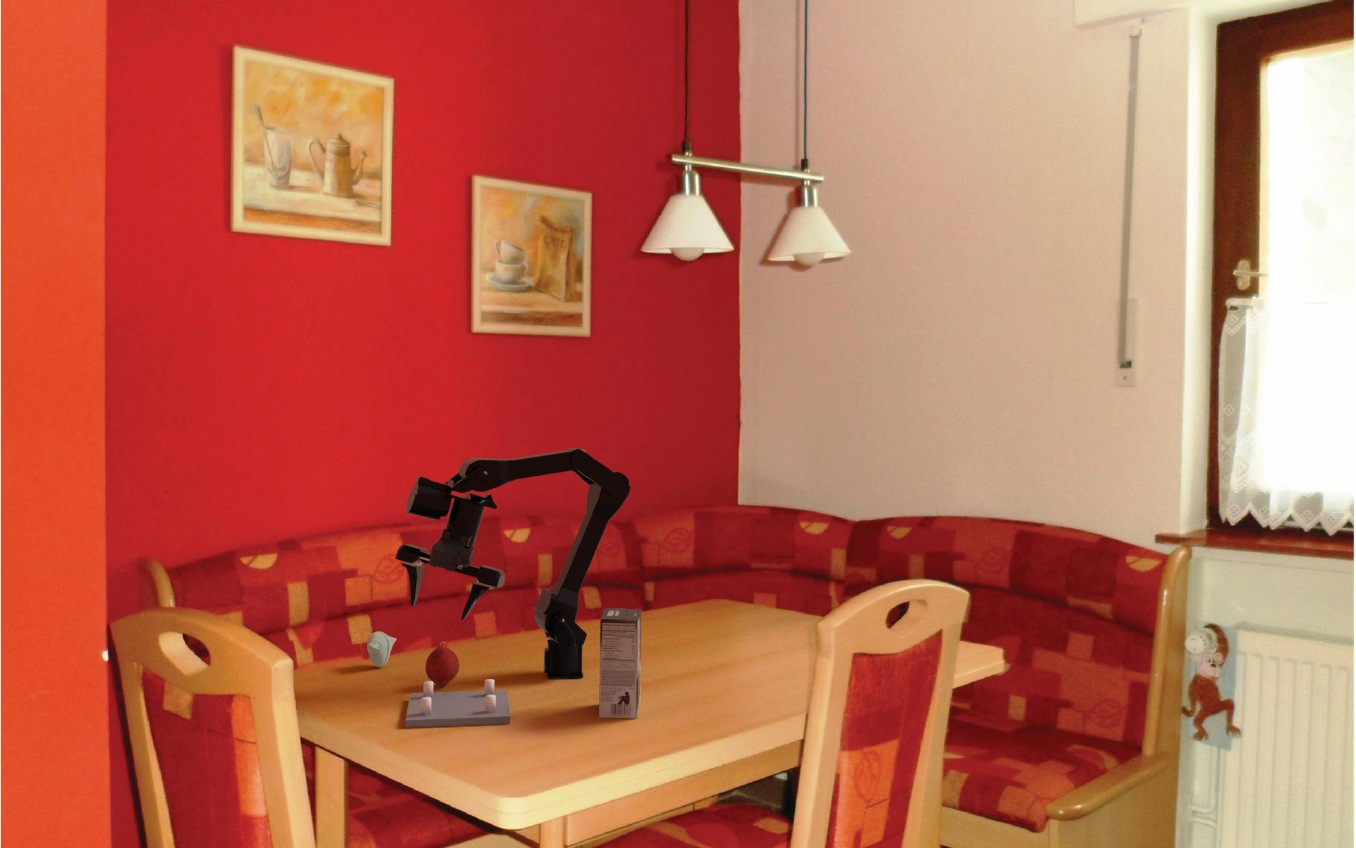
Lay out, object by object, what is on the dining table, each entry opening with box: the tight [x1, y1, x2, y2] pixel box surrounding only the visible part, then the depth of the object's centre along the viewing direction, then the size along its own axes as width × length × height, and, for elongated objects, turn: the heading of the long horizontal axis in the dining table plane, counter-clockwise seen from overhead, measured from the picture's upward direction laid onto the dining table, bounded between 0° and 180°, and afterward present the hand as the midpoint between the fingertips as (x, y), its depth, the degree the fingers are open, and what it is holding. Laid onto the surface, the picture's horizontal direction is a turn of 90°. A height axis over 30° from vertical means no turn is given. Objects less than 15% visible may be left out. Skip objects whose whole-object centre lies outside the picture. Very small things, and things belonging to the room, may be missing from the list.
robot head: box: [366, 631, 397, 668], centre depth 211 cm, size 8×4×7 cm, turn 163°
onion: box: [424, 641, 460, 688], centre depth 197 cm, size 6×6×8 cm
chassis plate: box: [404, 678, 511, 729], centre depth 182 cm, size 16×16×4 cm
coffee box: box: [598, 607, 642, 720], centre depth 184 cm, size 9×6×16 cm
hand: (437, 613), depth 198 cm, fingers open, 9 cm apart
